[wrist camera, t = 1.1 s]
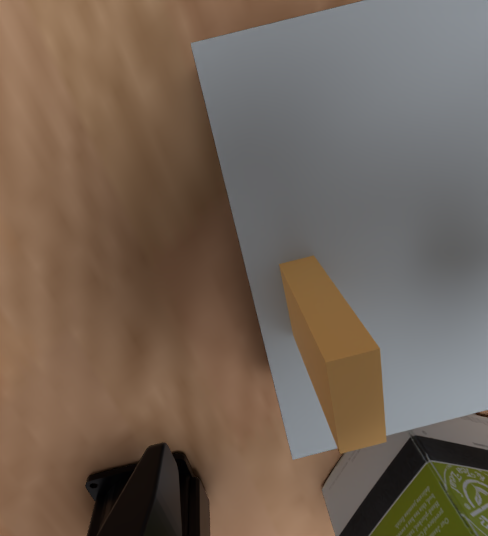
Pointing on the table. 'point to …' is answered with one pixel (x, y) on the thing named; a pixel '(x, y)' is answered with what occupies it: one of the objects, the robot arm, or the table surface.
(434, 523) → the tea box
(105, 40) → the table surface
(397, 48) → the lid
